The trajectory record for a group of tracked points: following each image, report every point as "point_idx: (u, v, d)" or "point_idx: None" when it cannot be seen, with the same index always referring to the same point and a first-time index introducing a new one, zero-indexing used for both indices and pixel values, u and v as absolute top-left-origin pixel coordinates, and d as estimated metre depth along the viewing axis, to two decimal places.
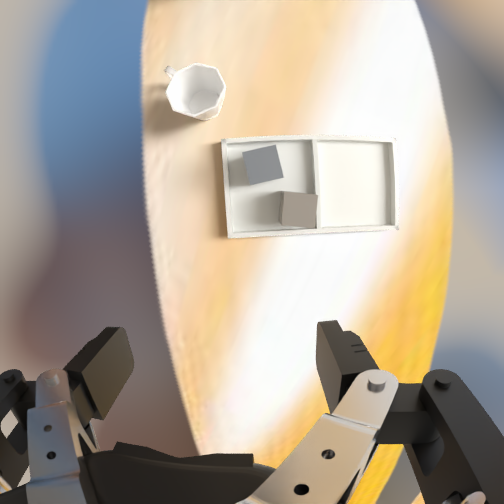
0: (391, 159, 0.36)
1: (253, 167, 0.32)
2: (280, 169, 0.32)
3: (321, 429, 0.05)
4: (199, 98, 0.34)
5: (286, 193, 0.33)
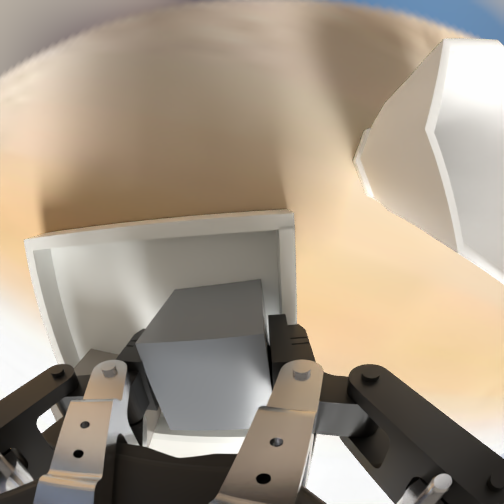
0: None
1: (201, 363, 0.08)
2: (194, 427, 0.09)
3: (262, 420, 0.05)
4: None
5: None
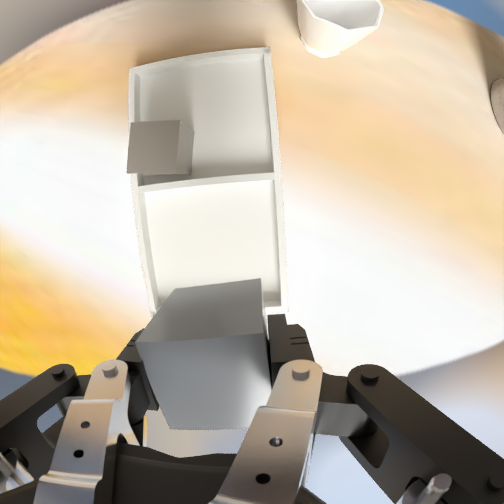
0: None
1: (201, 362, 0.08)
2: (194, 427, 0.09)
3: (261, 420, 0.05)
4: None
5: (177, 123, 0.19)
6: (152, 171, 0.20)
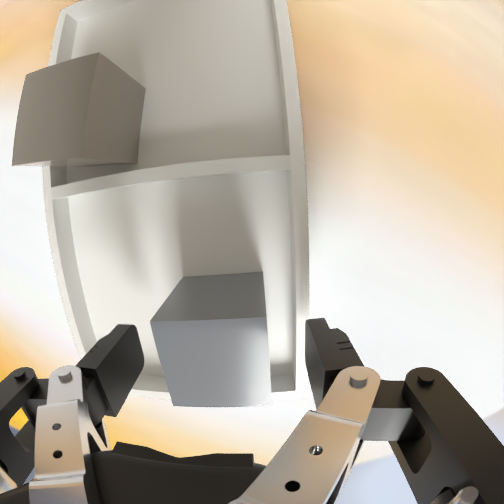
0: None
1: (208, 341, 0.09)
2: (196, 404, 0.10)
3: (307, 426, 0.05)
4: None
5: (93, 59, 0.07)
6: (45, 157, 0.08)
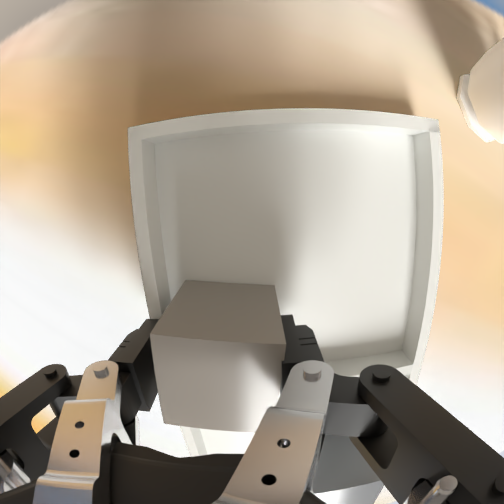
0: None
1: (349, 493, 0.10)
2: None
3: (270, 421, 0.05)
4: None
5: (277, 351, 0.08)
6: (221, 428, 0.09)
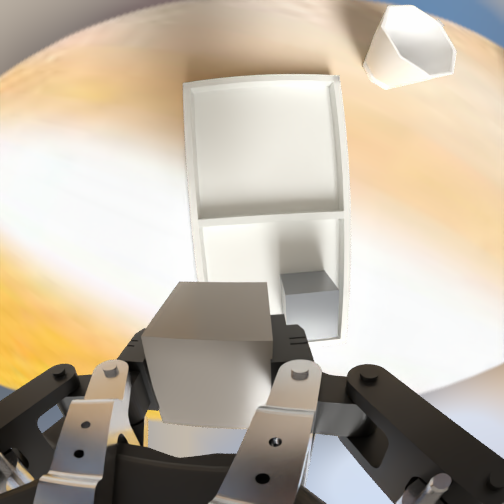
0: None
1: (312, 303, 0.21)
2: None
3: (261, 420, 0.05)
4: None
5: (265, 348, 0.08)
6: (218, 425, 0.09)
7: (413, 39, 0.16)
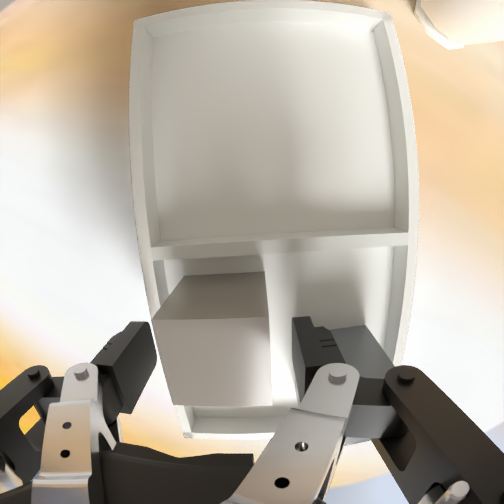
0: None
1: None
2: None
3: (290, 423, 0.05)
4: None
5: (262, 323, 0.09)
6: (224, 404, 0.10)
7: None
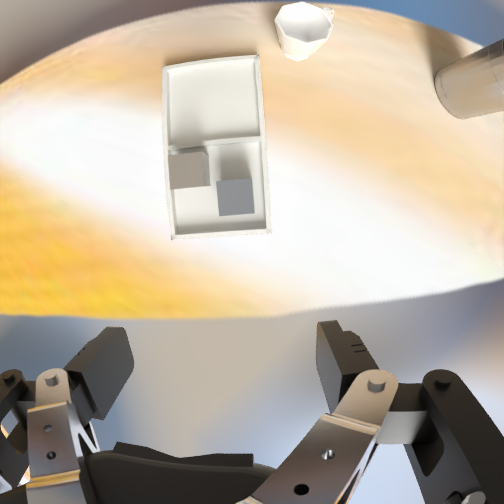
0: (247, 229, 0.37)
1: (234, 186, 0.32)
2: (227, 214, 0.32)
3: (321, 429, 0.05)
4: (302, 40, 0.31)
5: (199, 154, 0.31)
6: (187, 186, 0.32)
7: (311, 24, 0.27)
